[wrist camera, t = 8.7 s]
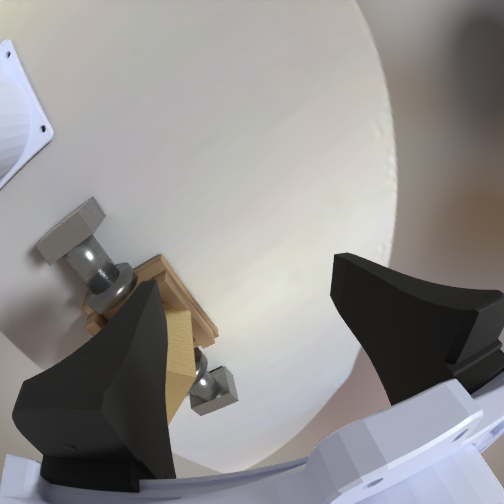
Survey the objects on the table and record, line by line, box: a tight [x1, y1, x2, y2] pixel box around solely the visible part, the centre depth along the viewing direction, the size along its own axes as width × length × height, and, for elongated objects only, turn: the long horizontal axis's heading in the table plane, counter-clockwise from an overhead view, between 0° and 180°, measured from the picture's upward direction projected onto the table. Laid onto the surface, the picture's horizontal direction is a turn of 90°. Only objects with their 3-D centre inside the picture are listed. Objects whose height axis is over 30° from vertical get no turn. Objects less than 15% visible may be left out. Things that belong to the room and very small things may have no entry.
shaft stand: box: [36, 197, 239, 416], centre depth 21 cm, size 20×8×4 cm, turn 26°
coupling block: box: [162, 302, 197, 425], centre depth 17 cm, size 6×4×6 cm, turn 152°
